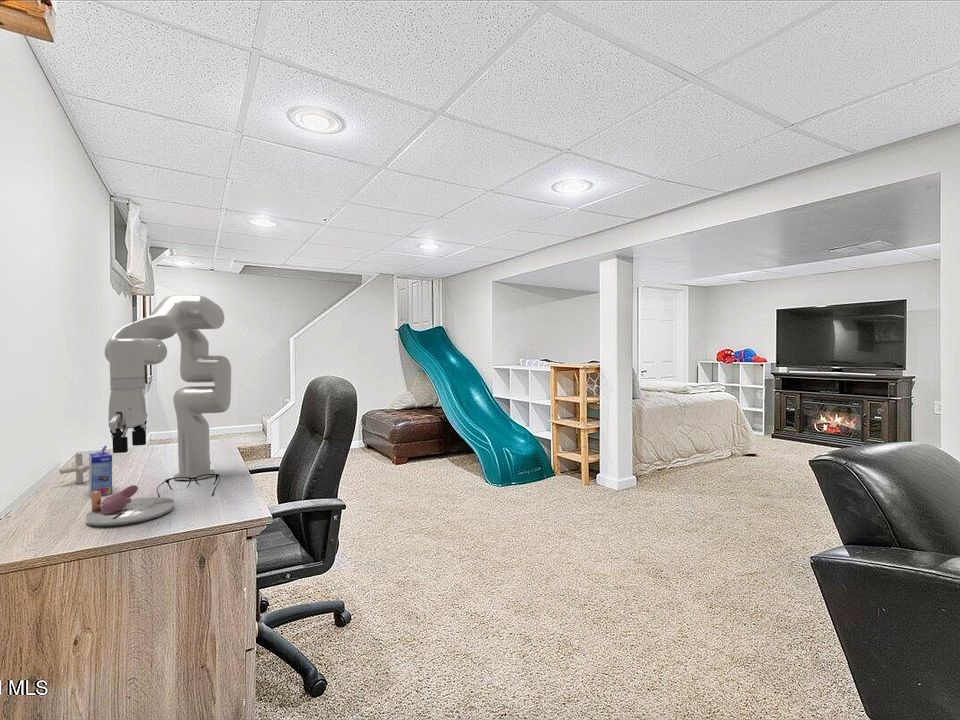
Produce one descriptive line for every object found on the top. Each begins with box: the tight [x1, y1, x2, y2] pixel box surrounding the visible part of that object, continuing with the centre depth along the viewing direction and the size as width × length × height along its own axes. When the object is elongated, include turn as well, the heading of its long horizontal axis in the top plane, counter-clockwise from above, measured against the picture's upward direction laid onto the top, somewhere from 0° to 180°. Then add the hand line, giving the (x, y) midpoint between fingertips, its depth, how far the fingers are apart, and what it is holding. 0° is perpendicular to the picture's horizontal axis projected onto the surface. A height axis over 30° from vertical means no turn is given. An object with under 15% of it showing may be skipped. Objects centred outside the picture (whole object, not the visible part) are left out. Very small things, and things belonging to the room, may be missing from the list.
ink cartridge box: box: [88, 444, 113, 496], centre depth 153 cm, size 10×6×14 cm, turn 42°
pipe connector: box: [59, 452, 89, 484], centre depth 165 cm, size 10×10×10 cm
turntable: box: [85, 490, 175, 527], centre depth 130 cm, size 19×19×6 cm
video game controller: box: [100, 484, 139, 514], centre depth 129 cm, size 10×5×7 cm
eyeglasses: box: [156, 473, 221, 497], centre depth 151 cm, size 16×16×4 cm
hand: (130, 448), depth 130 cm, fingers open, 9 cm apart
